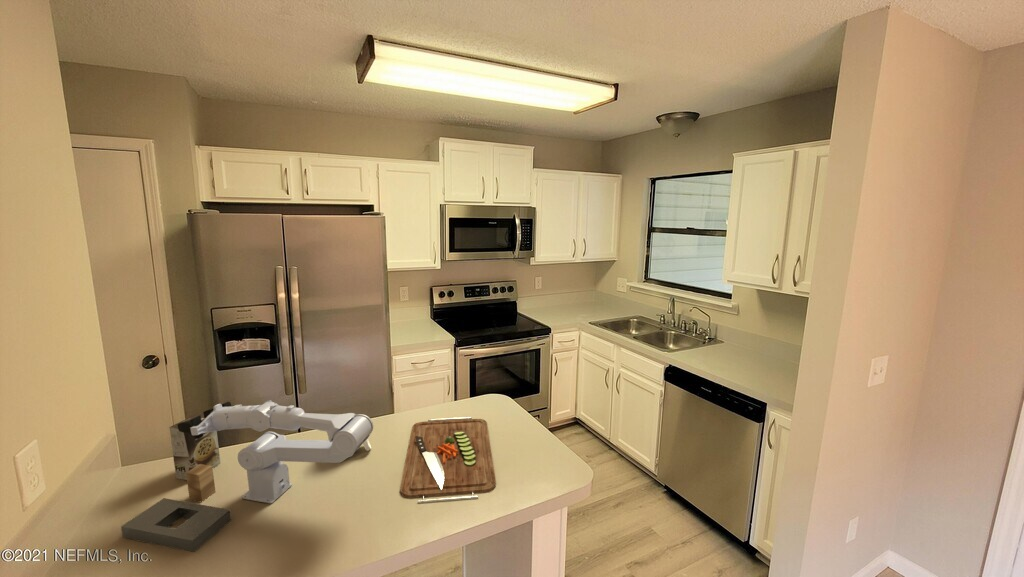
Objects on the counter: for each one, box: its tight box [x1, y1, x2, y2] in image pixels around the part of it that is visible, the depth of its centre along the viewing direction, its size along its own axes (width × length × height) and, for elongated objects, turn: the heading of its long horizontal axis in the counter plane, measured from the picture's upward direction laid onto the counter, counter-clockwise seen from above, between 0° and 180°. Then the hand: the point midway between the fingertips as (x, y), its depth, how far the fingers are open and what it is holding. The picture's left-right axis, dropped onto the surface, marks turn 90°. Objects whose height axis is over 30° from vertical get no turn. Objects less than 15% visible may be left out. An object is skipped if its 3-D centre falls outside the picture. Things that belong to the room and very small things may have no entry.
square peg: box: [186, 464, 217, 503], centre depth 111 cm, size 4×4×8 cm
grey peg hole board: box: [120, 497, 232, 553], centre depth 100 cm, size 20×10×3 cm, turn 79°
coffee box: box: [169, 412, 221, 481], centre depth 121 cm, size 9×6×16 cm
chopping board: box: [399, 416, 497, 504], centre depth 133 cm, size 45×27×3 cm, turn 8°
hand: (192, 420), depth 113 cm, fingers open, 7 cm apart
